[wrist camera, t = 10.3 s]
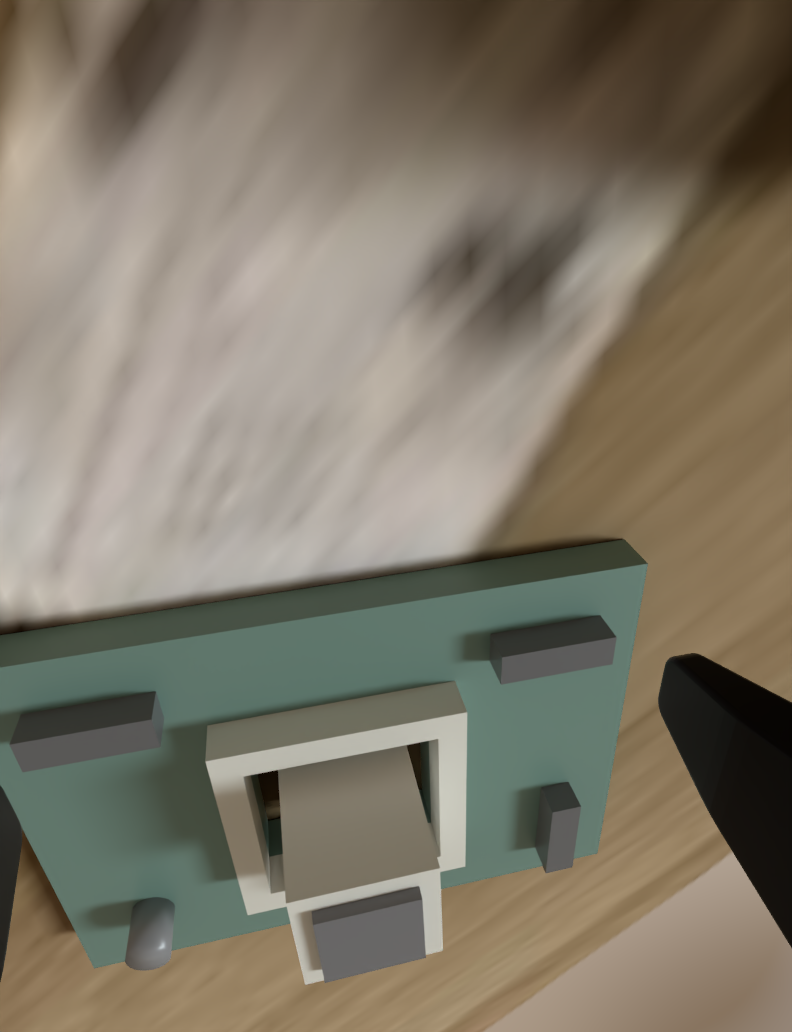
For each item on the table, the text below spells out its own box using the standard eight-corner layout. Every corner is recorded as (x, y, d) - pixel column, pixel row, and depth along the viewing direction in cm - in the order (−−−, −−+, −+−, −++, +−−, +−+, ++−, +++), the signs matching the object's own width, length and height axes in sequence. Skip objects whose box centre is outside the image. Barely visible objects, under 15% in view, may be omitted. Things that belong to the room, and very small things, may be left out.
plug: (393, 696, 25) (443, 881, 19) (400, 791, 28) (446, 979, 22) (274, 719, 25) (286, 917, 18) (294, 813, 28) (310, 1014, 21)
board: (624, 539, 24) (677, 594, 21) (582, 822, 32) (616, 891, 29) (-37, 640, 21) (-82, 722, 18) (101, 928, 29) (85, 1017, 26)
